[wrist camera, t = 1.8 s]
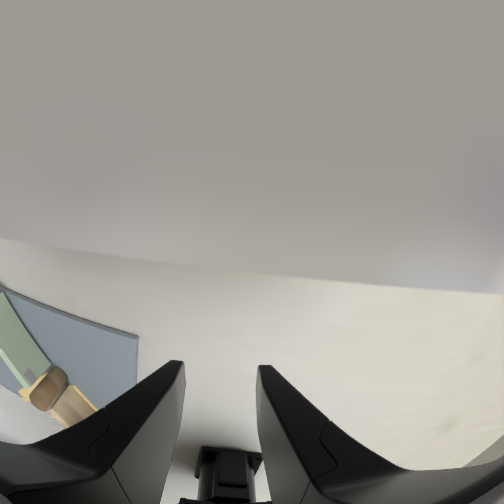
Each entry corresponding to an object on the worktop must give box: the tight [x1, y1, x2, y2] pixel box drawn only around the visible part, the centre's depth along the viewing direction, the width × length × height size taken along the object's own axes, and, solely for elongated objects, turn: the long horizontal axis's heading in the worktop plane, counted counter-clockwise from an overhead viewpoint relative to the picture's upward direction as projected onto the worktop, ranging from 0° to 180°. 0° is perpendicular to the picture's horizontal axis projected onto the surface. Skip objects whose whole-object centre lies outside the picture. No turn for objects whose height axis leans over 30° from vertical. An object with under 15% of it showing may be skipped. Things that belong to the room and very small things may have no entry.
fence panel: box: [0, 292, 51, 390], centre depth 18 cm, size 8×1×4 cm, turn 32°
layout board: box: [0, 286, 139, 411], centre depth 21 cm, size 14×20×1 cm
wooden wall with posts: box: [29, 367, 96, 429], centre depth 20 cm, size 11×2×5 cm, turn 31°
